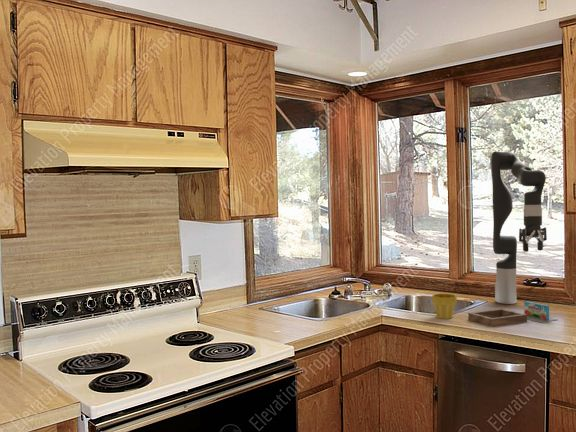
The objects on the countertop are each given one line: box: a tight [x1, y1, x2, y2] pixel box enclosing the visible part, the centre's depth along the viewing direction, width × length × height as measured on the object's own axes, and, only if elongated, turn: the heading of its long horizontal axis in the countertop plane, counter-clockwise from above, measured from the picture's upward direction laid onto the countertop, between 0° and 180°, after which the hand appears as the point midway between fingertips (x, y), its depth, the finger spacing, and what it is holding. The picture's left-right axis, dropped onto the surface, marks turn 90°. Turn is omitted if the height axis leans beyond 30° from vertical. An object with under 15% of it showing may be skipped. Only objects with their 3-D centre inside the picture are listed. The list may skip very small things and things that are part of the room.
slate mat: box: [527, 316, 559, 323], centre depth 240 cm, size 14×10×1 cm
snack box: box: [523, 300, 550, 320], centre depth 240 cm, size 12×2×6 cm, turn 23°
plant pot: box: [431, 292, 458, 320], centre depth 245 cm, size 10×10×10 cm
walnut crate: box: [467, 308, 528, 327], centre depth 237 cm, size 14×19×3 cm
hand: (532, 250), depth 249 cm, fingers open, 8 cm apart
